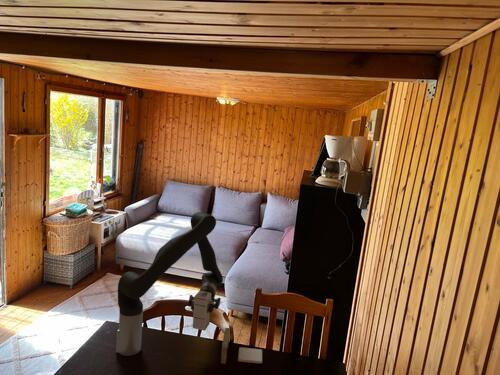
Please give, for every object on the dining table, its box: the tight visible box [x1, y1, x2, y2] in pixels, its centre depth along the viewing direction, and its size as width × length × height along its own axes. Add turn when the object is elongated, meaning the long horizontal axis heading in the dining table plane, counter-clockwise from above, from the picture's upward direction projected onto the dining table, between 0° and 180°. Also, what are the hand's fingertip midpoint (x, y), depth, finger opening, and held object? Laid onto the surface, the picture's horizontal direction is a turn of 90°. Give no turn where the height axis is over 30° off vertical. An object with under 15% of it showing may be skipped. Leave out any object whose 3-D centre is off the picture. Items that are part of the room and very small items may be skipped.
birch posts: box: [220, 331, 231, 364], centre depth 152 cm, size 2×13×7 cm, turn 178°
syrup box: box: [192, 290, 212, 331], centre depth 150 cm, size 6×6×14 cm
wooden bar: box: [221, 327, 231, 349], centre depth 152 cm, size 2×12×2 cm, turn 178°
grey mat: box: [237, 347, 263, 365], centre depth 153 cm, size 10×8×1 cm
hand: (201, 309), depth 148 cm, fingers closed on syrup box, 6 cm apart
